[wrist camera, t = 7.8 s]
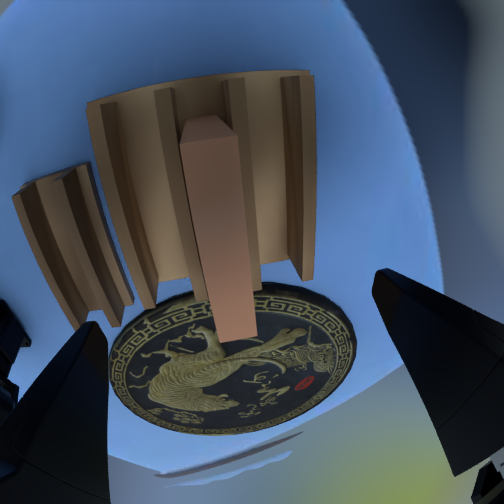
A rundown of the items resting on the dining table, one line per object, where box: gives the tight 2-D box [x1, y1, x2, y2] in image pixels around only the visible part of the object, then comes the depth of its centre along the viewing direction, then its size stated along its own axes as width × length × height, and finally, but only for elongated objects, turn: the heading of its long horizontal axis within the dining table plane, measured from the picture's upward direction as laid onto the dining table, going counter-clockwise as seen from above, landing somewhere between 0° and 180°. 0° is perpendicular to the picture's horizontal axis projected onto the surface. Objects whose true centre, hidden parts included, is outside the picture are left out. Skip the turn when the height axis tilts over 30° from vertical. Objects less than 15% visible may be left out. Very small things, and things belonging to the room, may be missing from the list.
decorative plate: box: [109, 282, 357, 436], centre depth 31 cm, size 30×2×30 cm
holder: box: [12, 162, 135, 332], centre depth 18 cm, size 6×12×3 cm, turn 5°
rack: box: [86, 70, 317, 309], centre depth 17 cm, size 14×14×4 cm
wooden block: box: [180, 115, 257, 343], centre depth 14 cm, size 2×9×9 cm, turn 4°
